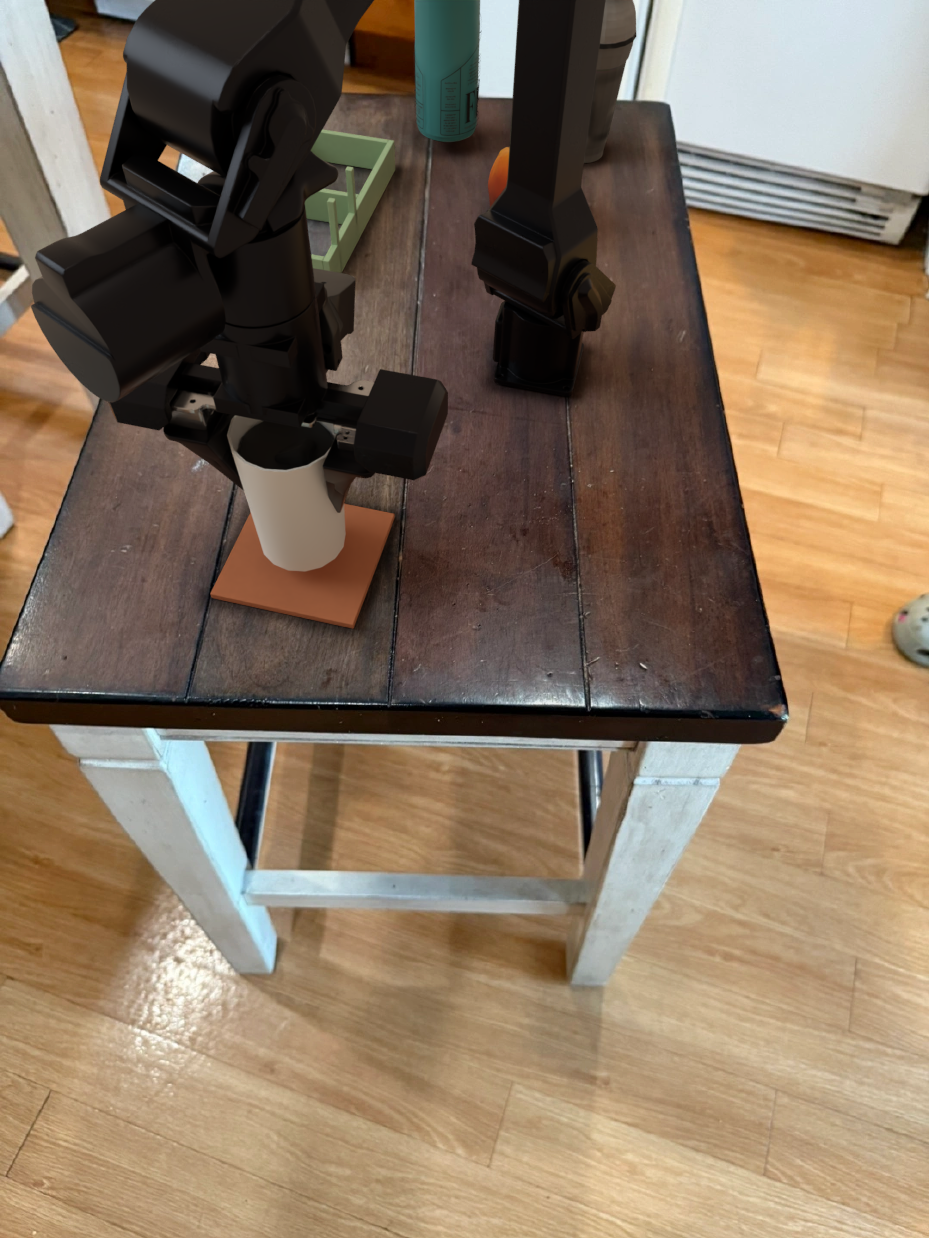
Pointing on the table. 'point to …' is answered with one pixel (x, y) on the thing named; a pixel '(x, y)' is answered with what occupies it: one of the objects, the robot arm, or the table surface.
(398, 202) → the table surface
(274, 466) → the off-white tumbler
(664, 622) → the table surface
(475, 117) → the beverage bottle
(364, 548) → the mat
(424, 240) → the table surface
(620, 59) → the beverage cup
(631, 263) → the table surface
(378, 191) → the dish rack
